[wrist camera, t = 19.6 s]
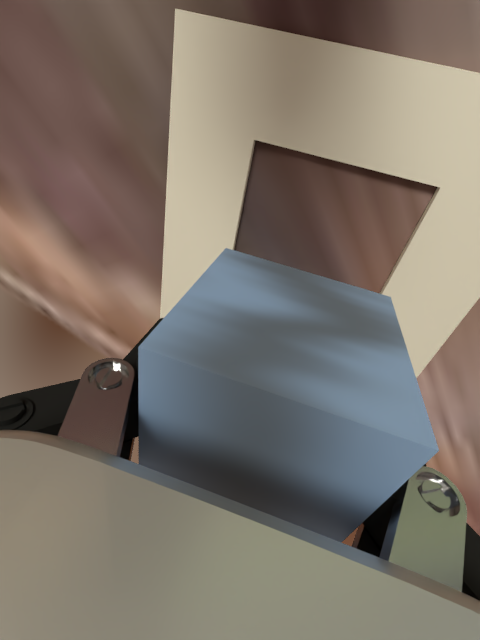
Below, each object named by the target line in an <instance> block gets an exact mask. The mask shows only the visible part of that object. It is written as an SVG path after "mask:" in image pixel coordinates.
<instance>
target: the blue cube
mask: <svg viewBox="0 0 480 640" xmlns="http://www.w3.org/2000/svg"><path fill="white" fill-rule="evenodd" d="M138 400H139V465H142V466H145V467H147V468H150V469H152V470H155V471H158V472H160V473H163V474H165V475H168V476H171V477H173V478H176V479H179V480H181V481H184V482H186V483H189V484H192V485H194V486H197V487H199V488H202V489H205V490H207V491H210V492H212V493H215V494H218V495H220V496H223V497H225V498H228V499H231V500H233V501H236V502H238V503H241V504H243V505H246V506H249V507H251V508H254V509H256V510H259V511H262V512H264V513H267V514H269V515H272V516H274V517H277V518H280V519H282V520H285V521H287V522H290V523H292V524H295V525H298V526H300V527H303V528H305V529H308V530H310V531H313V532H315V533H318V534H320V535H323V536H326V537H328V538H331V539H333V540H336V541H338V542H342V541H343V540H345V539H346V537H348V536H349V535H350V534H351V533H352V532H353V531H354V530H355V529H356V528H357V527H358V526H359V525H360V524H362V523H363V522H364V521H365V520H366V519H367V518H368V517H369V516H370V515H371V514H372V513H373V512H374V511H375V510H376V509H377V508H379V507H380V506H381V505H382V504H383V503H384V502H385V501H386V500H387V499H388V498H389V497H390V496H391V495H392V494H393V493H394V492H396V491H397V490H398V489H399V488H400V487H401V486H402V485H403V484H404V483H405V482H406V481H407V480H408V479H409V478H410V477H411V476H413V475H414V474H415V473H416V472H417V471H418V470H419V469H420V468H421V467H422V466H423V465H424V464H425V463H426V462H427V461H428V460H430V459H431V458H432V457H433V456H434V455H435V454H436V453H437V452H438V451H439V449H438V446H437V443H436V440H435V436H434V433H433V430H432V427H431V424H430V421H429V417H428V414H427V411H426V408H425V405H424V402H423V398H422V395H421V392H420V389H419V386H418V382H417V379H416V376H415V373H414V370H413V367H412V363H411V360H410V357H409V354H408V351H407V347H406V344H405V341H404V338H403V335H402V332H401V328H400V325H399V322H398V319H397V316H396V313H395V309H394V306H393V303H392V300H391V297H389V296H386V295H382V294H379V293H376V292H372V291H369V290H366V289H362V288H359V287H356V286H352V285H349V284H346V283H342V282H339V281H335V280H332V279H329V278H325V277H322V276H319V275H315V274H312V273H309V272H305V271H302V270H299V269H295V268H292V267H288V266H285V265H282V264H278V263H275V262H272V261H268V260H265V259H262V258H258V257H255V256H251V255H248V254H245V253H241V252H238V251H235V250H231V249H228V248H225V249H224V251H223V252H222V253H221V254H220V255H219V256H218V257H217V259H216V260H215V261H214V262H213V263H212V264H211V265H210V266H209V268H208V269H207V270H206V271H205V272H204V273H203V274H202V276H201V277H200V278H199V279H198V280H197V281H196V282H195V283H194V285H193V286H192V287H191V288H190V289H189V290H188V291H187V292H186V294H185V295H184V296H183V297H182V298H181V299H180V300H179V302H178V303H177V304H176V305H175V306H174V307H173V308H172V309H171V311H170V312H169V313H168V314H167V315H166V316H165V317H164V319H163V320H162V321H161V322H160V323H159V324H158V325H157V326H156V328H155V329H154V330H153V331H152V332H151V333H150V334H149V335H148V337H147V338H146V339H145V340H144V341H143V342H142V343H141V345H140V346H139V347H138Z"/></svg>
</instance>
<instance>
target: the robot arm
mask: <svg viewBox="0 0 480 640" xmlns="http://www.w3.org/2000/svg"><path fill="white" fill-rule="evenodd" d="M163 319H164V318H161V319H159V320H158V321H157V323H156V324H155V325H154V326H153V327H152V328H151V329H150V330H149V331H148V333H147V334H146V335H145V336H144V337H143V338H142V339H141V340H140V341H139V343H138V344H137V345H136V346H135V347H134V348H133V349H132V350H131V351H130V353H129V354H128V355H127V356H126V357H125V358H124V359H123V360H122V359H118V358H105V359H102V360H98V361H96V362H94V363H92V364H91V365H89V366H88V367H87V368H86V369H85V371H84V373H83V374H82V377H81V379H78V380H74V381H69V382H65V383H60V384H56V385H52V386H48V387H43V388H39V389H34V390H30V391H26V392H22V393H17V394H13V395H9V396H5V397H2V398H0V640H480V536H479V535H478V534H477V533H476V532H475V531H474V530H473V529H472V528H471V527H470V526H469V525H468V524H467V523H466V518H467V510H466V504H465V501H464V499H463V497H462V495H461V493H460V492H459V490H458V489H457V487H456V486H455V485H454V484H453V483H452V482H451V481H450V480H449V479H448V478H447V477H446V476H444V475H443V474H442V473H440V472H438V471H436V470H435V469H433V468H429V467H426V464H424V465H423V466H422V467H421V468H420V469H419V470H418V471H417V472H416V473H415V474H414V475H413V476H411V477H410V478H409V479H408V480H407V481H406V482H405V483H404V484H403V485H402V486H401V487H400V488H399V489H398V490H397V491H396V492H394V493H393V494H392V495H391V496H390V497H389V498H388V499H387V500H386V501H385V502H384V503H383V504H382V505H381V506H380V507H379V508H377V509H376V510H375V511H374V512H373V513H372V514H371V515H370V516H369V517H368V518H367V519H366V520H365V521H364V522H363V523H362V524H360V525H359V527H358V530H357V533H356V535H355V538H354V541H353V544H352V547H351V546H348V545H346V544H343V543H341V542H338V541H336V540H333V539H331V538H328V537H326V536H323V535H320V534H318V533H315V532H313V531H310V530H308V529H305V528H303V527H300V526H298V525H295V524H292V523H290V522H287V521H285V520H282V519H280V518H277V517H274V516H272V515H269V514H267V513H264V512H262V511H259V510H256V509H254V508H251V507H249V506H246V505H243V504H241V503H238V502H236V501H233V500H231V499H228V498H225V497H223V496H220V495H218V494H215V493H212V492H210V491H207V490H205V489H202V488H199V487H197V486H194V485H192V484H189V483H186V482H184V481H181V480H179V479H176V478H173V477H171V476H168V475H165V474H163V473H160V472H158V471H155V470H152V469H150V468H147V467H145V466H142V465H139V464H137V463H134V462H131V457H132V451H133V445H134V440H135V437H138V436H139V400H138V347H139V346H140V345H141V343H142V342H143V341H144V340H145V339H146V338H147V337H148V335H149V334H150V333H151V332H152V331H153V330H154V329H155V328H156V326H157V325H158V324H159V323H160V322H161V321H162V320H163Z"/></svg>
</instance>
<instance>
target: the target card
mask: <svg viewBox="0 0 480 640" xmlns="http://www.w3.org/2000/svg"><path fill="white" fill-rule="evenodd" d="M256 140H257V141H261V142H265V143H269V144H273V145H277V146H280V147H284V148H288V149H292V150H296V151H300V152H304V153H308V154H312V155H315V156H319V157H323V158H327V159H331V160H335V161H339V162H343V163H347V164H350V165H354V166H358V167H362V168H366V169H370V170H374V171H378V172H382V173H386V174H389V175H393V176H397V177H401V178H405V179H409V180H413V181H417V182H421V183H424V184H428V185H432V186H436V187H438V188H437V189H436V191H435V193H434V195H433V197H432V199H431V200H430V202H429V204H428V206H427V208H426V210H425V211H424V213H423V215H422V217H421V219H420V221H419V222H418V224H417V226H416V228H415V230H414V232H413V233H412V235H411V237H410V239H409V241H408V242H407V244H406V246H405V248H404V250H403V252H402V253H401V255H400V257H399V259H398V261H397V263H396V264H395V266H394V268H393V270H392V272H391V274H390V275H389V277H388V279H387V281H386V283H385V285H384V286H383V288H382V290H381V292H380V294H382V295H386V296H389V297H391V300H392V303H393V306H394V309H395V313H396V316H397V319H398V322H399V325H400V328H401V332H402V335H403V338H404V341H405V344H406V347H407V351H408V354H409V357H410V360H411V363H412V367H413V370H414V373H415V376H416V378H417V377H418V376H419V374H420V373H421V372H422V370H423V369H424V368H425V367H426V365H427V364H428V363H429V361H430V360H431V359H432V358H433V356H434V355H435V354H436V353H437V351H438V350H439V349H440V347H441V346H442V345H443V344H444V342H445V341H446V340H447V338H448V337H449V336H450V335H451V333H452V332H453V331H454V329H455V328H456V327H457V326H458V324H459V323H460V322H461V321H462V319H463V318H464V317H465V315H466V314H467V313H468V312H469V310H470V309H471V308H472V306H473V305H474V304H475V303H476V301H477V300H478V299H479V297H480V73H477V72H472V71H467V70H462V69H458V68H453V67H448V66H444V65H439V64H434V63H430V62H425V61H420V60H415V59H411V58H406V57H401V56H397V55H392V54H387V53H382V52H378V51H373V50H368V49H364V48H359V47H354V46H349V45H345V44H340V43H335V42H331V41H326V40H321V39H316V38H312V37H307V36H302V35H298V34H293V33H288V32H283V31H279V30H274V29H269V28H265V27H260V26H255V25H250V24H246V23H241V22H236V21H232V20H227V19H222V18H217V17H213V16H208V15H203V14H199V13H194V12H189V11H184V10H180V9H175V25H174V45H173V66H172V86H171V107H170V127H169V148H168V168H167V189H166V209H165V230H164V250H163V270H162V291H161V311H160V319H161V318H164V317H165V316H166V315H167V314H168V313H169V312H170V311H171V309H172V308H173V307H174V306H175V305H176V304H177V303H178V302H179V300H180V299H181V298H182V297H183V296H184V295H185V294H186V292H187V291H188V290H189V289H190V288H191V287H192V286H193V285H194V283H195V282H196V281H197V280H198V279H199V278H200V277H201V276H202V274H203V273H204V272H205V271H206V270H207V269H208V268H209V266H210V265H211V264H212V263H213V262H214V261H215V260H216V259H217V257H218V256H219V255H220V254H221V253H222V252H223V251H224V249H225V248H228V249H231V250H234V249H235V243H236V238H237V233H238V228H239V223H240V218H241V213H242V208H243V203H244V197H245V192H246V187H247V182H248V177H249V172H250V167H251V162H252V157H253V151H254V146H255V141H256Z"/></svg>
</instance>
